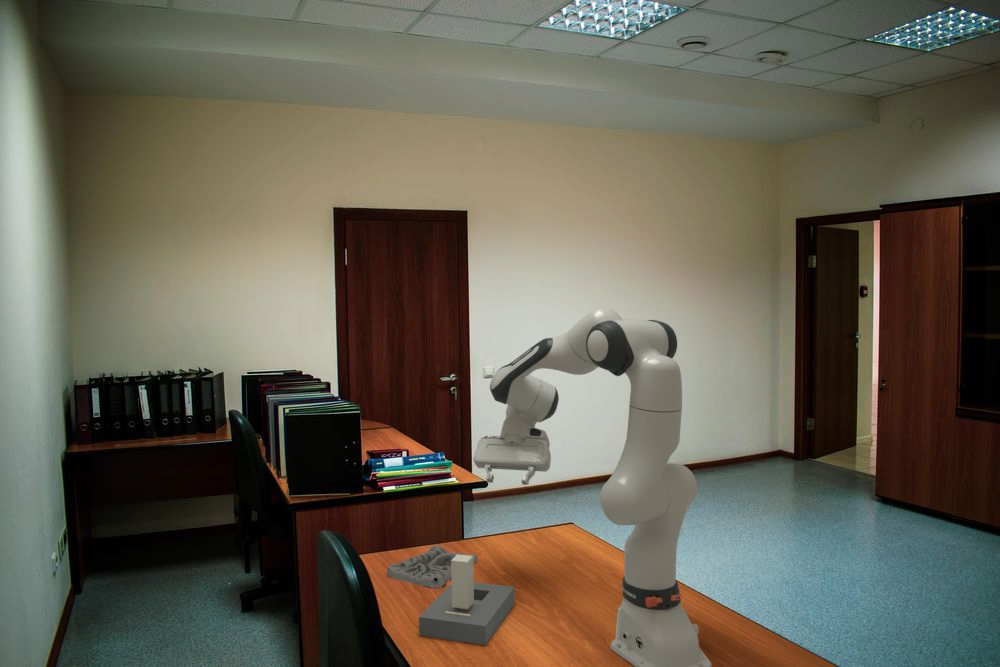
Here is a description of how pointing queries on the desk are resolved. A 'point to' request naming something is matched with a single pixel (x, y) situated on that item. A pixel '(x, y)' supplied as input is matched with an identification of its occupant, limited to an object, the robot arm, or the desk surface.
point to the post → (462, 581)
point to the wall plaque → (426, 568)
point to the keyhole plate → (468, 615)
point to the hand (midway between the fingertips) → (506, 482)
